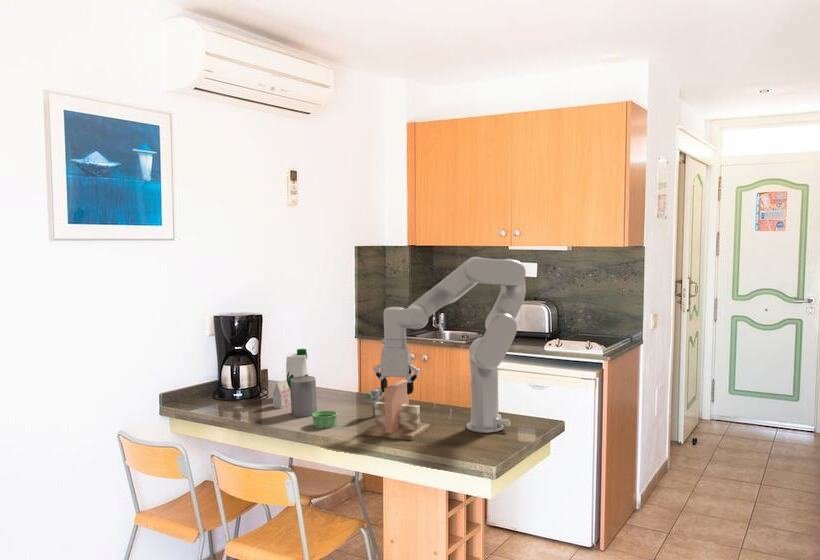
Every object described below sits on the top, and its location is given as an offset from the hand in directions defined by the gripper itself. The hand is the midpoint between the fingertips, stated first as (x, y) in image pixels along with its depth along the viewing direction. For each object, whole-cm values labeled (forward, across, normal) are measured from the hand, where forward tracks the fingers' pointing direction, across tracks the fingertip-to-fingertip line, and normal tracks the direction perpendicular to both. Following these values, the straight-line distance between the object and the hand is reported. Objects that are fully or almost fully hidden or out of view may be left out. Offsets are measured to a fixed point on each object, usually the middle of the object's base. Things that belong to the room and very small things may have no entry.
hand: (397, 392), depth 238 cm
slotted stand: (+14, 0, 0) cm, 14 cm away
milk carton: (+14, -62, +32) cm, 71 cm away
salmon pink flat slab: (+12, 0, 0) cm, 12 cm away
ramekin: (+14, -28, -2) cm, 32 cm away
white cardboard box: (+14, -59, +16) cm, 63 cm away
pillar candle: (+14, -44, +9) cm, 47 cm away
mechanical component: (+14, -16, +14) cm, 25 cm away
